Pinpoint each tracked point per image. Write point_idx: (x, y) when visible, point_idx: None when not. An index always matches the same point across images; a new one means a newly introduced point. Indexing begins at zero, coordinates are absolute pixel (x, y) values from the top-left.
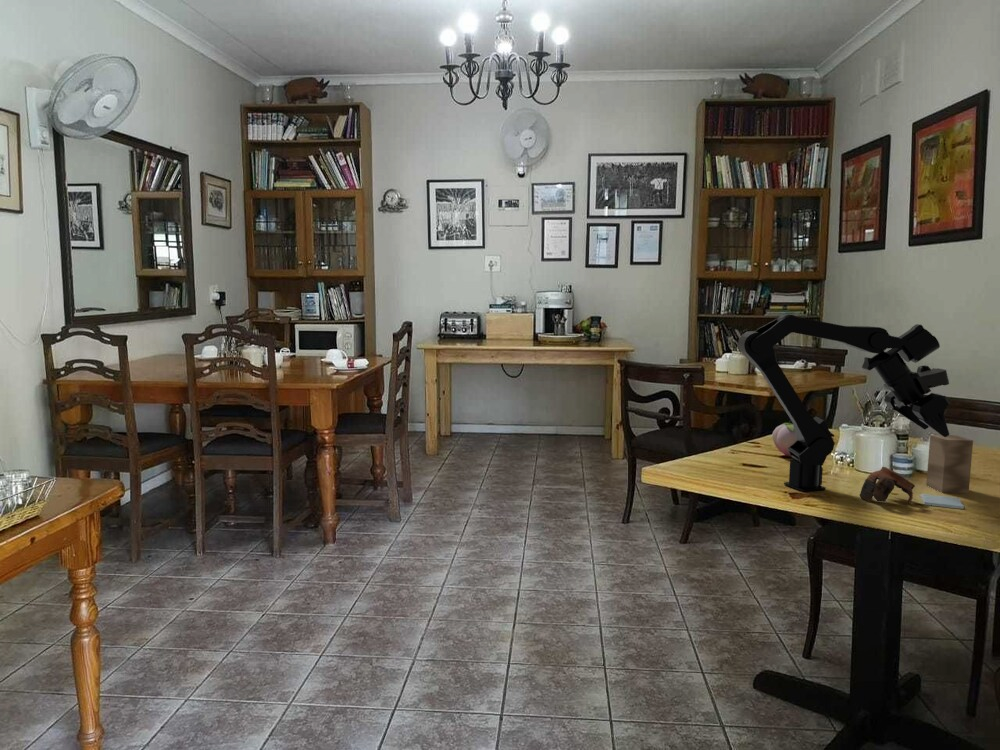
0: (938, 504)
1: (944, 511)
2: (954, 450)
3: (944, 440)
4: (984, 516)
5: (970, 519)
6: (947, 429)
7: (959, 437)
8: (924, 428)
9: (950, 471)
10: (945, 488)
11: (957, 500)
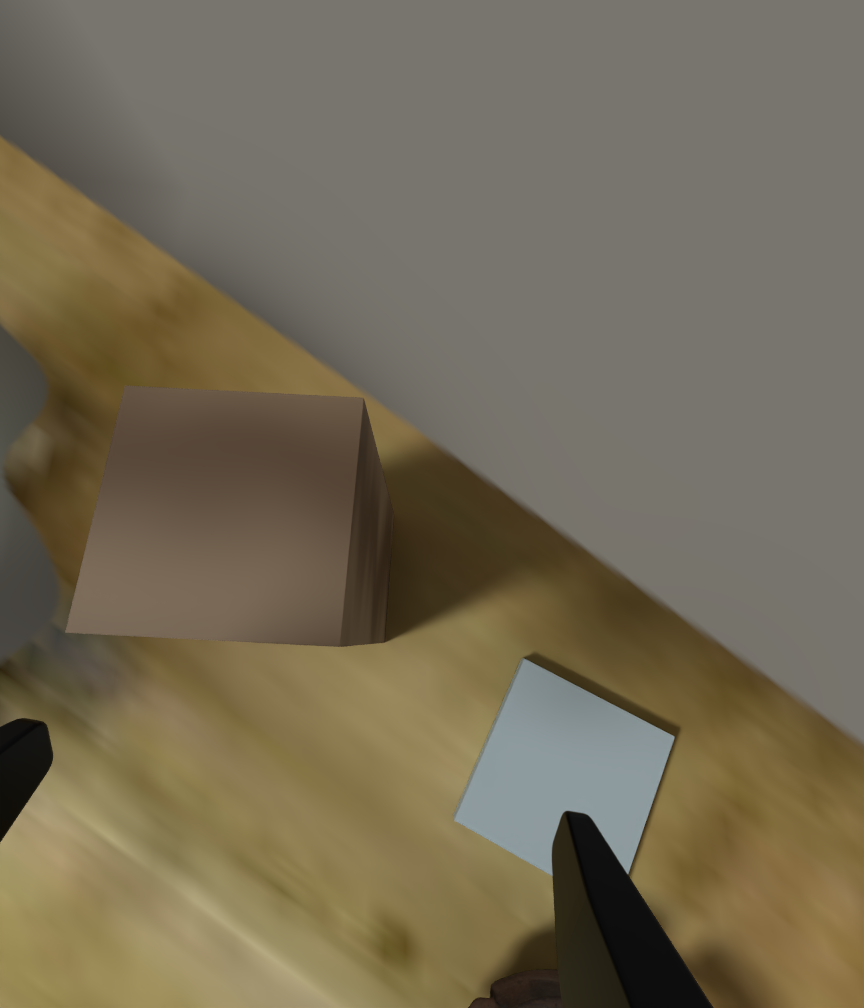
0: (635, 842)
1: (717, 867)
2: (361, 568)
3: (312, 643)
4: (773, 711)
5: (836, 820)
6: (644, 904)
7: (223, 424)
8: (42, 773)
9: (377, 600)
10: (383, 624)
11: (573, 696)
